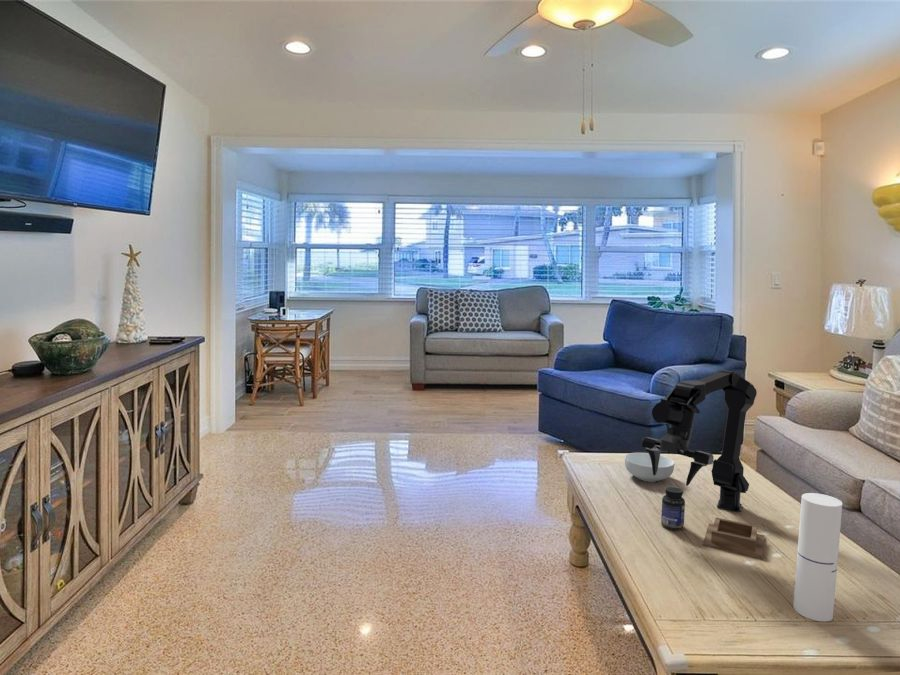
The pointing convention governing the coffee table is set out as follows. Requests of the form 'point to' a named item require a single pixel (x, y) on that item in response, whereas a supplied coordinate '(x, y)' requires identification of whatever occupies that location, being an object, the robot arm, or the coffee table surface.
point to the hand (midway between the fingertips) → (670, 480)
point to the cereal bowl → (648, 467)
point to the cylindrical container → (817, 556)
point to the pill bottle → (673, 509)
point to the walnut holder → (735, 538)
